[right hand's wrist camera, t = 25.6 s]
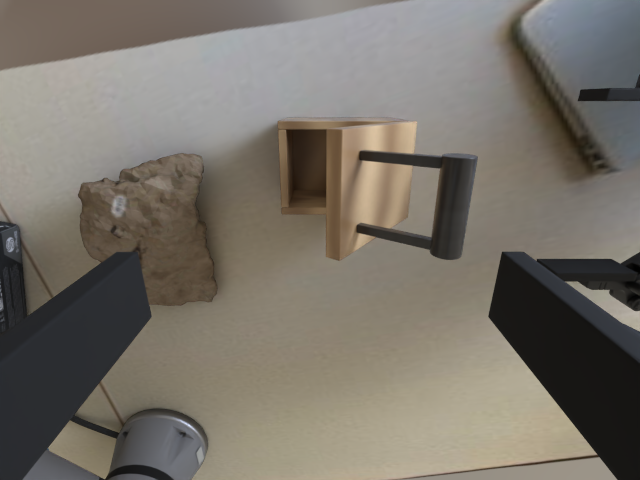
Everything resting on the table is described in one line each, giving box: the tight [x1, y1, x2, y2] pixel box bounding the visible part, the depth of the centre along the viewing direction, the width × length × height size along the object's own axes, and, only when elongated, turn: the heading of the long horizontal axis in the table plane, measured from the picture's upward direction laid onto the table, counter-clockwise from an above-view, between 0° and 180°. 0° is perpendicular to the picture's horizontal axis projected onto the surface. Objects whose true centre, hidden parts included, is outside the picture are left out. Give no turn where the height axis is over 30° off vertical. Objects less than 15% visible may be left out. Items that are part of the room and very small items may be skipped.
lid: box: [326, 121, 478, 261], centre depth 27 cm, size 13×10×9 cm
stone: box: [78, 153, 217, 306], centre depth 44 cm, size 21×15×6 cm
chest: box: [278, 118, 406, 214], centre depth 39 cm, size 13×10×9 cm
